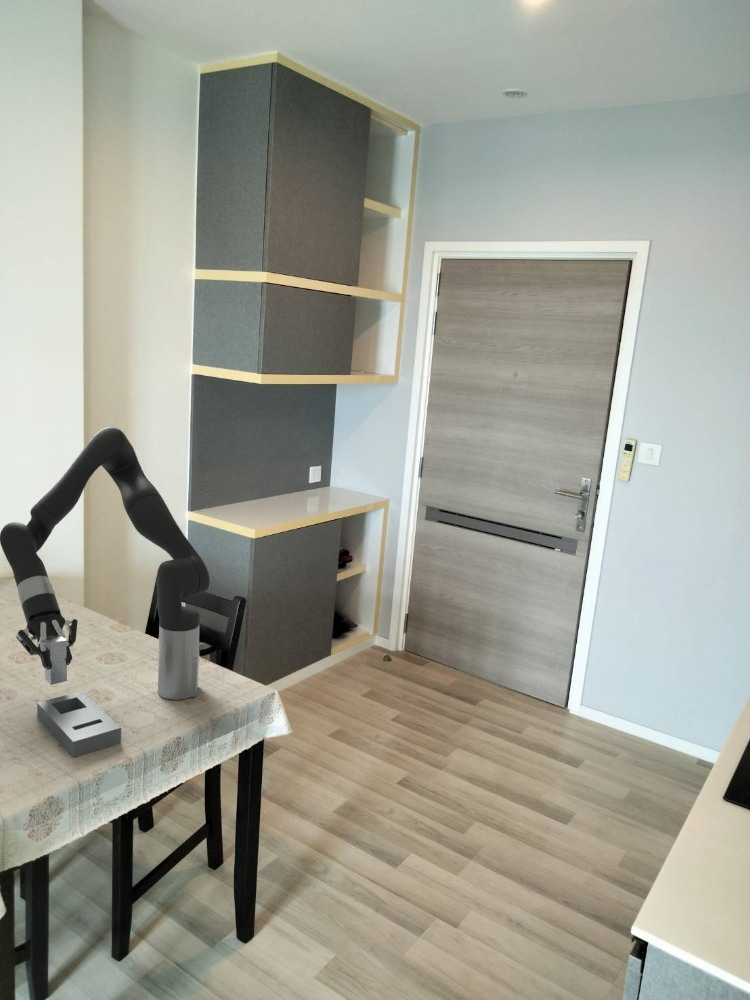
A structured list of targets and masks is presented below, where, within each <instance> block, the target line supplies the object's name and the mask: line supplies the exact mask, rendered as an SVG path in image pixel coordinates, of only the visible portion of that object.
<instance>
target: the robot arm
mask: <svg viewBox="0 0 750 1000" xmlns="http://www.w3.org/2000/svg"><path fill="white" fill-rule="evenodd" d="M100 467H102V468H103V469H104V470H105V471H106V472H107V473H108V475H109V477H110V478H111V479H112V480H113V482H114V483H115V484H116V486H117V488H118V490H119V492H120V495H121V500H122V505H123V507H124V509H125V512H126V514H127V516H128V518H129V520H130V521H131V523H132V525H133V527H134V529H135V530H136V531H137V532H138V533H139V534H140V535H141V536H142V537H143V538H144V539H146V540H148V541H149V542H151V543H152V544H154V545H155V546H157V547H159V548H160V549H162V550H163V551H165V552H166V553H167V554H168V555H169V556H170V557H171V558H172V559H170V560H169V559H168V560H165V561H163V562H161V563H160V565H159V566H158V568H157V571H156V594H157V595H156V598H157V599H156V601H157V605H156V606H157V612H158V618H159V619H158V620H159V624H158V625H159V627H158V628H159V629H158V631H159V633H158V635H159V636H158V637H159V638H158V669H157V670H158V672H157V673H158V674H157V675H158V677H157V693H158V695H159V696H160V697H161V698H163V699H167V700H173V701H174V700H175V701H179V700H186V699H190V698H196V697H197V694H198V690H199V689H198V688H199V670H200V669H199V668H200V650H199V648H200V623H201V622H200V621H201V620H200V618H201V617H200V616H201V615H200V613H199V611H198V610H196V609H195V608H192V607H189V606H183V605H182V599H185V598H189V597H195V596H197V595H201V594H204V593H205V592H207V590H208V589H209V587H210V583H211V581H210V574H209V571H208V568H207V566H206V563H205V562H204V560H203V559H202V557H201V556H200V555H199V553H198V551H197V550H196V549H195V548H194V547H193V545H192V544H191V542H190V541H189V540H188V538H187V537H186V535H185V534H184V532H182V530H181V527H180V526H179V525H178V523H177V522H176V520H175V517H174V516H173V515H172V513H171V511H170V508H169V507H168V506H167V504H166V502H165V500H164V499H163V497H162V495H161V494H160V492H159V491H158V489H157V488H156V487H155V486H154V484H153V483H152V482H151V481H150V479H148V477H147V476H146V475H145V473H144V470H143V468H142V466H141V464H140V461H139V460H138V455H137V454H136V451H135V449H134V447H133V445H132V443H131V442H130V441H129V439H128V437H127V436H126V435H125V433H124V432H123V431H122V430H121V429H120V428H118V427H114V426H109V427H105V428H102V429H101V430H99V431H97V432H96V433H95V434H94V435H93V436H92V437H91V439H90V440H89V442H87V444H86V445H85V446H84V447H83V449H82V450H81V451H80V453H79V455H78V456H77V457H76V458H75V460H74V461H73V462H72V464H71V465H70V467H68V469H67V470H66V471H65V472H64V474H63V476H61V478H60V479H59V480H58V481H57V482H56V483H55V484H54V485H53V486H52V488H51V489H50V490H49V491H47V492H46V494H44V496H42V497H41V498H40V499H39V500H38V501H37V502H36V503H35V504H34V505H33V506H32V508H30V517H31V518H30V520H28V521H29V522H28V523H27V524H24V523H22V522H19V521H13V522H9V523H7V524H5V525H4V526H3V527H2V529H1V531H0V546H1V549H2V551H3V553H4V556H5V558H6V561H7V562H8V563H9V566H10V568H11V570H12V573H13V578H14V580H15V581H14V582H15V584H16V588H17V595H18V598H19V602H20V605H21V608H22V611H23V616H24V619H25V622H26V628H24V629H19V630H18V631H17V633H16V636H15V638H16V639H17V641H18V642H19V643H20V644H21V646H22V647H23V648H24V649H25V650H26V651H27V653H28V654H29V655H30V656H35V655H38V656H39V658H40V661H41V664H42V665H41V666H42V667H43V668H44V669H45V668H46V669H47V670H50V669H51V668H52V663H51V660H50V657H49V654H48V651H46V644H45V639H46V638H48V637H53V636H62V637H63V638H64V639H66V650H67V657H66V665H67V666H69V665H70V664H71V663H72V660H73V656H72V651H71V647H73V646H74V644H75V643H76V640H77V631H78V630H77V629H78V619H76V618H73V619H72V620H67V619H66V618H65V617H64V616H63V615H62V613H61V609H60V606H59V603H58V600H57V597H56V591H55V590H54V587H53V585H52V583H51V581H50V578H49V576H48V573H47V568H46V566H45V563H44V562H43V560H42V559H41V558H40V556H39V555H38V554H37V552H39V551H40V550H41V549H42V547H43V546H44V545H45V544H46V542H47V540H48V538H49V537H50V535H51V533H52V532H53V530H54V528H55V527H56V526H57V525H58V524H59V523H60V522H61V521H62V520H63V519H64V518H66V516H68V514H69V513H70V512H71V511H72V510H73V509H74V508H75V506H76V505H77V503H78V501H79V500H80V498H81V496H82V494H83V491H84V489H85V487H86V485H87V483H88V482H89V480H90V478H91V477H92V475H94V473H95V472H96V470H98V469H99V468H100ZM64 626H65V627H66V630H67V631H68V636H67V637H68V639H67V638H66V635H65V633H64V630H63V628H64ZM62 630H63V631H62ZM30 635H32V636H33V638H34V637H36V638H35V639H36V644H35V643H34V641H33V640H32V639H31V638H30Z"/></svg>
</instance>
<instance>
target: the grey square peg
mask: <svg viewBox="0 0 750 1000" xmlns="http://www.w3.org/2000/svg"><path fill="white" fill-rule="evenodd" d="M66 640H67V638H66V639H64V638H63V637H62V636H53V637H48V638H46V639H45V644H46V651H48V654H49V657H50V660H51V663H52V668H51V669H50V670H47V669H46V668H44V680H45V681H46V682H47V683H49V685H57V684H60V683H61V684H62V683H64V682H68V668H67V667H68V665H66V657H67V650H66Z"/></svg>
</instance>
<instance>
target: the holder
mask: <svg viewBox="0 0 750 1000" xmlns="http://www.w3.org/2000/svg"><path fill="white" fill-rule="evenodd" d="M36 710H37V712H36V715H37V716H36V718H37V719H38V718H39V719H40V720H39V719H38V720H39V721H40V722H41V723H42V724H43V726H44V727H46V728H47V730H48V731H49V732H50V733H51V734H52V735H53V737H54V738H55V739H56V740H57V741H58V742H59V743H60V745H61V746H62V747H63V748H64V749H65V750H66V751H67V752H68V754H69V755H70V756H71V757H72V758H76V757H80V756H83V755H87V754H89V753H94V752H96V751H99V750H102V749H107V748H109V747H111V746H115V745H118V744H121V743H122V727H121V726H120V724H118V723H117V722H116V721H115V720H114V719H113V718H112V717H111V716H110V715H108V713H107V712H106V711H104V710H103V709H102V708H101V707H100V706H99V705H98V704H97V703H96V702H95V701H94V700H93V699H92V698H91V697H90V696H88V695H87V694H86V692H84V690H81V691H77V692H73V693H70V694H66V695H61V696H57V697H54V698H49V699H46V700H41V701H38V702H36Z"/></svg>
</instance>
